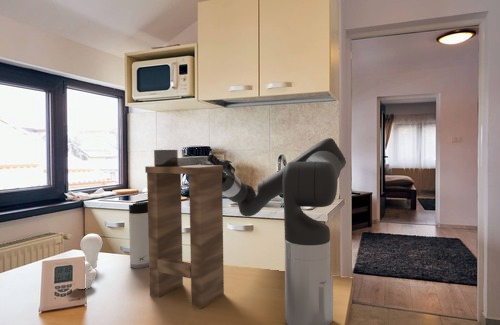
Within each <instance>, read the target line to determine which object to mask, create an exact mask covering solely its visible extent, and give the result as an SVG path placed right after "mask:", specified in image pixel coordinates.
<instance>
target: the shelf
mask: <svg viewBox="0 0 500 325" xmlns="http://www.w3.org/2000/svg"><path fill="white" fill-rule="evenodd" d="M144 168H145V173H146V180H147V181H146V184H147V192H146V193H147V202H148V236H149V266H148V270H149V271H148V273H149V275H148V276H149V296H152V297H156V298H161V297H163V296H164V295H167V294H168V293H170V292H172V291H174V290H176V289H177V288H179V287H182V286H183V285H184V283H183V282H184V278H186V279H190V286H191V287H190V290H191V291H190V293H191V294H190V295H191V307H194V308H198V309H200V310H201V309H204V308H206V307H207V306H208V305H211V303H213V302H215V301H216V300H217V299H219V298H220V297H222V296H223V295H225V287H224V286H225V285H224V282H225V281H224V278H225V276H224V219H223V218H224V217H223V216H224V213H223V212H224V211H223V208H224V207H223V195H222V172H223V165H202V164H201V165H197V164H196V165H181V166H172V167H155V166H154V165H148V166H144ZM182 175H188V183H189V185H188V188H189V189H188V190H189V232H190V233H189V238H190V239H189V240H190V244H189V246H190V262H188V261H183V229H182V228H183V225H182V224H183V223H182V222H183V221H182V218H183V217H182Z"/></svg>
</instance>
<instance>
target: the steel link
mask: <svg viewBox="0 0 500 325" xmlns="http://www.w3.org/2000/svg"><path fill="white" fill-rule="evenodd" d="M178 152H179V151H178V149H154V150H153V158H154V159H153V160H154V161H153V164H154V165H153V166H155V167H172V166H181V165H195V164H196V165H197V164H201V165H202V164H211V163H210V162H209V161H208V156H209V155H208V156H207V155H205V156H204V155H201V156H191V157H184V156H179V157H178V155H179V154H178Z"/></svg>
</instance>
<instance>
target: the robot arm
mask: <svg viewBox="0 0 500 325" xmlns="http://www.w3.org/2000/svg"><path fill="white" fill-rule="evenodd" d="M183 157H192V156H190V154H188V153H184V154H183ZM208 161H209V162H210V163H208V164H195V165H223V172H222V196H224V197H226V198H227V199H228V200H230V201H231V202H233V203H237V206H238V209H239V210H238V211H239V213H240V214H241V215H242V216H244V217H253V216H255V215H256V214H258V213H260V211H261V210H262V209H264V207H265V206H266V205H267V204H268V203H269V202H270V201H271V200H273V199H275V198H277V197H279V196H280V195H282V198H283V199H282V200H283V220H284V221H283V222H284V224H283V226H284V306H285V307H284V315H285V316H284V317H285V318H284V319H285V323H286V324H287V325H331V324H332V322H333V321H334V275H333V274H331V232H330V230H331V229H330V227H329V225H327V224H326V223H323V222H321V221H319V220H316V219H314V218H312V217H311V216H309V215H307V214H306V213H305V212H304V211H303V210H302V207H303V208H306V207H307V208H326V207H329V206H332V204H333V203H334V201H335V200H336V197H337V193H338V179H340V178H339V177H340V175H341V171H342V170H343V169H344V168H345V167H346V165H347V164H346V163H347V162H346V157H345V156H344V154H343V152H342V151H341V149H340V148H339V146H338V144H337V142H336V141H335V140H334V139H333V138H332V137H329V138H326V139H323V140H321V141H319V142H317V143H316V144H315V145H313V146H310V148H307V150H305V151H303V152H302V153H301V154H300V155H298V156H297V157H296V158H294V159H293V160H291V161H289V162H288V163H286V164H285V166H284V167H282V168H281V169H280V170H278V171H277V172H275V173H273V174H272V175H270V176H268V177H266V178H265V179H263V180H261V181H260V182H259V183H258V184H257V193H256V190H255V189H254V187H253V186H251V185H249V184H246V183H243V181H242V180H241V179H240V178H239V177H238V176H237V174H236V168H235V166H233V165H232V164H231V163H230V161H228V160H227V159H226V160H224V161H223V160H222V159H219V158H217V156H216V155H214V154H213V153H209V154H208Z"/></svg>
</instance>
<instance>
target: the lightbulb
mask: <svg viewBox="0 0 500 325" xmlns="http://www.w3.org/2000/svg"><path fill="white" fill-rule="evenodd" d="M103 243H104V242H103V239H102V237H101V236H100V235H99V234H97V233H88V234H86V235H85V236H83V238H82V239H81V240H80V243H79V244H80V246H79V247H80V249H81V251H82V253H83V254H84V256H85V262H89V263H90V264H91V267H92V268H93V269H96V268H97V267H98V266H97V265H98V264H97V263H98V260H99V259H98V258H99V254H100V251H101V250H102V246H103Z"/></svg>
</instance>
